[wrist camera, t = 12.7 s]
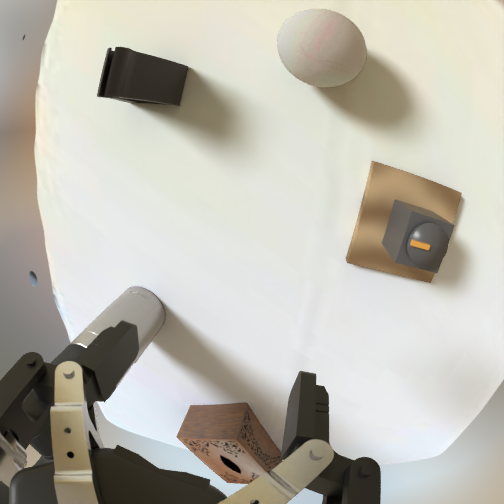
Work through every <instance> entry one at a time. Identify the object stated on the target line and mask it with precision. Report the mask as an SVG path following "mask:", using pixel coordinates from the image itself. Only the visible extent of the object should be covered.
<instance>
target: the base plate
mask: <svg viewBox="0 0 504 504" xmlns="http://www.w3.org/2000/svg"><path fill="white" fill-rule="evenodd" d="M460 197H461V193H460V192H458V191H456V190H453V189H451V188H448V187H446V186H443V185H441V184H438V183H436V182H433V181H430V180H428V179H425V178H422V177H420V176H417V175H414V174H411V173H408V172H405V171H403V170H400V169H397V168H393V167H390V166H387V165H384V164H381V163H378V162H374V161H372V163H371V167H370V171H369V176H368V180H367V184H366V188H365V192H364V196H363V200H362V204H361V208H360V211H359V215H358V219H357V222H356V226H355V229H354V233H353V236H352V240H351V243H350V246H349V250H348V253H347V256H346V261H347V263H350V264H354V265H359V266H363V267H367V268H371V269H376V270H380V271H384V272H388V273H392V274H396V275H401V276H405V277H409V278H413V279H417V280H421V281H425V282H429V283H431V281H432V278H433V276H434V274H435V273H434V272H430V271H426V270H422V269H418V268H414V267H410V266H406V265H402V264H398V263H395V262H394V261H393V259H392V258H391V256H390V255H389V253H388V252H387V250H386V249H385V247H384V246H383V244H382V241H383V238H384V234H385V231H386V228H387V224H388V221H389V218H390V214H391V211H392V207H393V203H394V200H395V199H396V200H399V201H402V202H405V203H409V204H412V205H415V206H418V207H421V208H424V209H427V210H430V211H433V212H435V213H436V214H438V215H439V216H441V217H442V218H444V219H445V220H447V221H449V222H450V223H452V224H453V221H454V218H455V215H456V211H457V208H458V204H459V201H460Z"/></svg>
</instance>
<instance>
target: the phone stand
mask: <svg viewBox="0 0 504 504" xmlns="http://www.w3.org/2000/svg"><path fill="white" fill-rule="evenodd" d="M111 49H112V48H108V50H107V54H106V58H105V62H104V66H103V70H102V74H101V79H100V84H99V89H98V94H97V97H105V98H111V99H116V100H120V101H124V102H129V103H153V104H167V105H178V106H179V105H180V101H181V96H182V91H183V87H184V82H185V78H186V74H187V70H188V66H185V65H182V64H179V63H176V62H172V61H169V60H166V59H162V58H158V57H155V56H151V55H147V54H143V53H139V52H136V51H133V50H131V49H129V48H124V47H116V48H115V51H111Z"/></svg>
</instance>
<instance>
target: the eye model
mask: <svg viewBox="0 0 504 504" xmlns="http://www.w3.org/2000/svg"><path fill="white" fill-rule="evenodd" d="M277 46H278V52H279V56H280V59H281V61H282V63H283V64H284V66H285V67H286V68H287V70H288V71H289V72H290V73H291V74H292V75H293V76H295V77H296V78H297V79H299V80H301V81H303V82H305V83H307V84H310V85H313V86H317V87H336V86H340V85H343V84H345V83H347V82H349V81H351V80H352V79H354V78H355V77H356V76H357V75H358V74H359V73H360V71H361V70H362V68H363V66H364V64H365V61H366V55H367V50H366V44H365V40H364V37H363V35H362V33H361V32H360V30H359V29H358V27H357V26H356V25H355V24H354V23H353V22H352V21H351V20H349V19H348V18H347V17H345V16H343V15H341V14H339V13H337V12H334V11H331V10H326V9H309V10H305V11H302V12H299V13H297V14H295V15H294V16H292V17H290V18H289V19H288V20H286V21H285V23H284V24H283V25H282V27H281V29H280V31H279V34H278V37H277Z"/></svg>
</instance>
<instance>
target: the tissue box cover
mask: <svg viewBox="0 0 504 504" xmlns="http://www.w3.org/2000/svg"><path fill="white" fill-rule="evenodd" d="M177 438H178V439H179V440H180V441H181V442H182V443H183V444H184V445H185V446H186V447H187V448H188V449H189V450H190V451H192V452H193V453H194V454H195V455H196V456H197V457H198V458H199V459H200V460H201V461H202V462H204V463H205V464H206V465H207V466H208V467H209V468H210V469H211V470H213V471H214V472H215V473H216V474H217V475H219V476H220V477H221V478H222V479H223V480H225V481H226V482H227V483H240V484H249V483H251V482H252V481H254V480H255V479H256V478H258V477H259V476H261V475H262V474H264V473H265V472H267V471H270V470H272V469H274V468H275V467H276V466H277V465H279V464H280V463H281V462H282V459H281V452H280V450H279V449H278V448H277V446H276V445H275V443H274V442H273V441H272V439H271V438H270V436H269V435H268V434H267V432H266V431H265V429H264V428H263V426H262V425H261V424H260V422H259V421H258V419H257V418H256V416H255V415H254V413H253V412H252V410H251V409H250V407H249V406H248V404H247V403H235V404H220V405H191V406H190V408H189V410H188V412H187V415H186V417H185V419H184V421H183V423H182V426H181V428H180V430H179V432H178V435H177Z"/></svg>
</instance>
